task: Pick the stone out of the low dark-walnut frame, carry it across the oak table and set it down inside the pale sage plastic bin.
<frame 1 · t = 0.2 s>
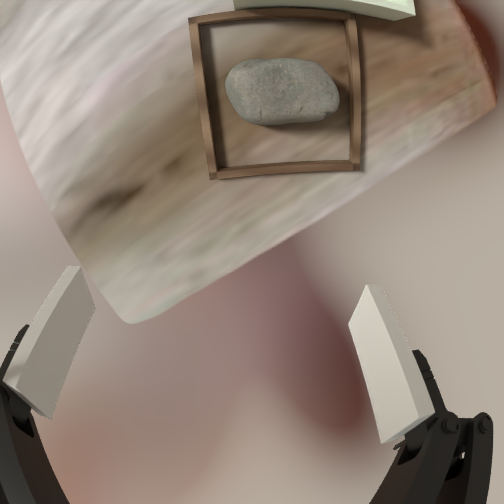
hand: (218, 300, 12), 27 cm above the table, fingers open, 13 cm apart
stone: (283, 90, 30), on the table
frame: (280, 89, 29), on the table
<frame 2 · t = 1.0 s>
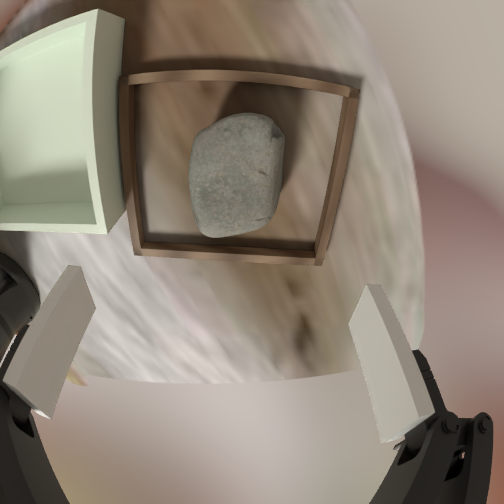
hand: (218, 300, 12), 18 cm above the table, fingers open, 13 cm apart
stone: (237, 160, 26), on the table
bin: (42, 127, 22), on the table
frame: (231, 170, 26), on the table
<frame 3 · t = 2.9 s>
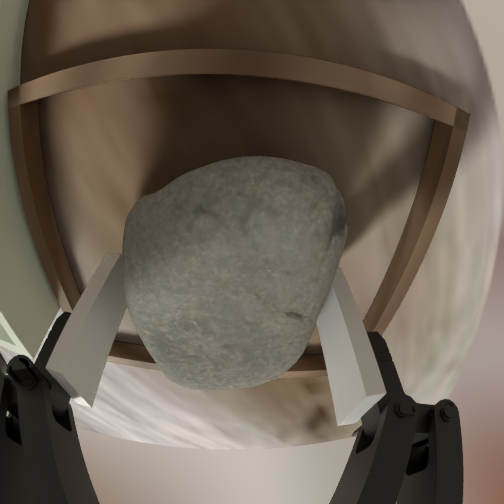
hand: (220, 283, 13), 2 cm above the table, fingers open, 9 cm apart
stone: (235, 231, 14), on the table, touching gripper
frame: (221, 256, 14), on the table
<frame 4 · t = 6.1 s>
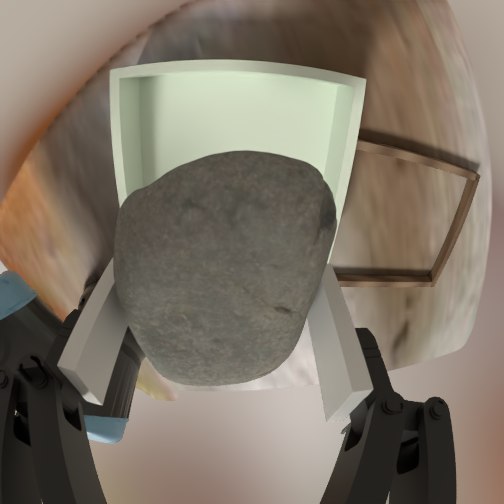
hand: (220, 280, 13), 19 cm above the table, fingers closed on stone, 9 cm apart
stone: (227, 227, 14), point 17 cm above the table, touching gripper
bin: (232, 159, 28), on the table
frame: (400, 223, 33), on the table
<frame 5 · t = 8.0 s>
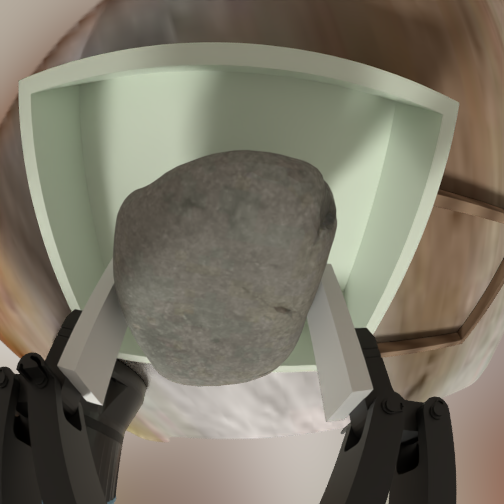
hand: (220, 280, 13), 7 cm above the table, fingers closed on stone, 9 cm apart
stone: (227, 227, 14), point 5 cm above the table, touching gripper
bin: (226, 213, 19), on the table
frame: (442, 285, 24), on the table
when the fingers open (5 cm above the table, at t = 9.3 s): stone drops 2 cm, resting on bin.
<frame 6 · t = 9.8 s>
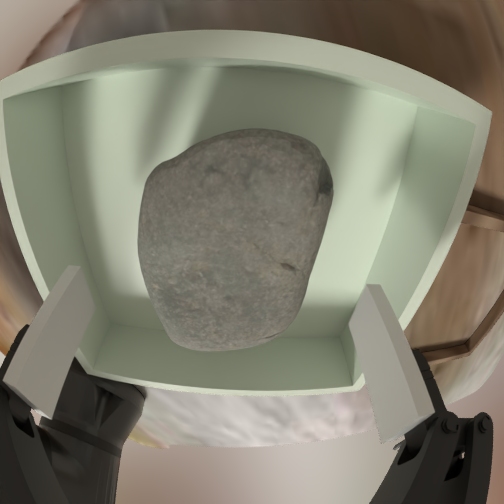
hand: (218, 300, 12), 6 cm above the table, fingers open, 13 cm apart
stone: (236, 206, 15), point 1 cm above the table, touching bin
bin: (226, 228, 17), on the table
frame: (453, 299, 22), on the table
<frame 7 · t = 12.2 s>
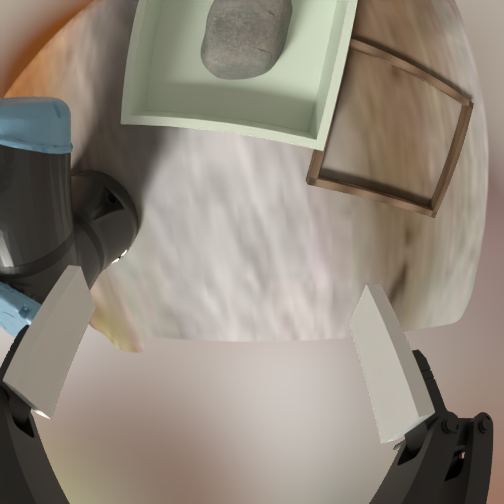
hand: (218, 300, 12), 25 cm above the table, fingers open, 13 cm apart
stone: (248, 29, 23), point 1 cm above the table, touching bin
bin: (238, 43, 25), on the table
frame: (398, 133, 30), on the table
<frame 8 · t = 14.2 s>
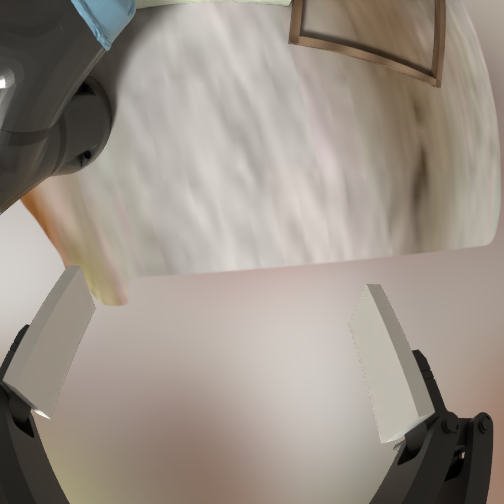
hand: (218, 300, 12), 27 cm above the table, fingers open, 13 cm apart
frame: (376, 1, 21), on the table
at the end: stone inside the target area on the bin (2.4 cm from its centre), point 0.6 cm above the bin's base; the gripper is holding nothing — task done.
